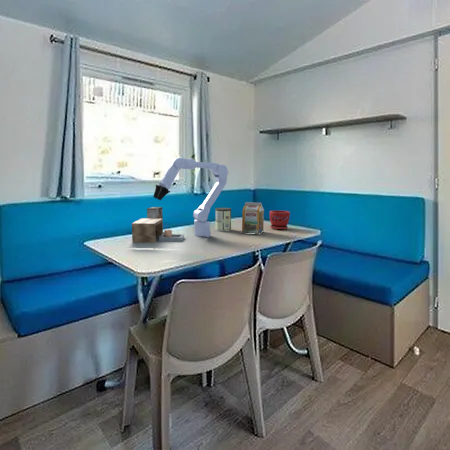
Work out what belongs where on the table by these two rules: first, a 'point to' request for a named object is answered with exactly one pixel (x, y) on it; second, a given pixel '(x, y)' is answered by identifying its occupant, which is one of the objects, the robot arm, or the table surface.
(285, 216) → the plant pot
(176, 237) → the tray
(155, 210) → the coffee box
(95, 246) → the table surface
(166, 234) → the tan rounded smooth part
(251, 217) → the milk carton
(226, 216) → the coffee can
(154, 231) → the brown boxy block
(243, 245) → the table surface
